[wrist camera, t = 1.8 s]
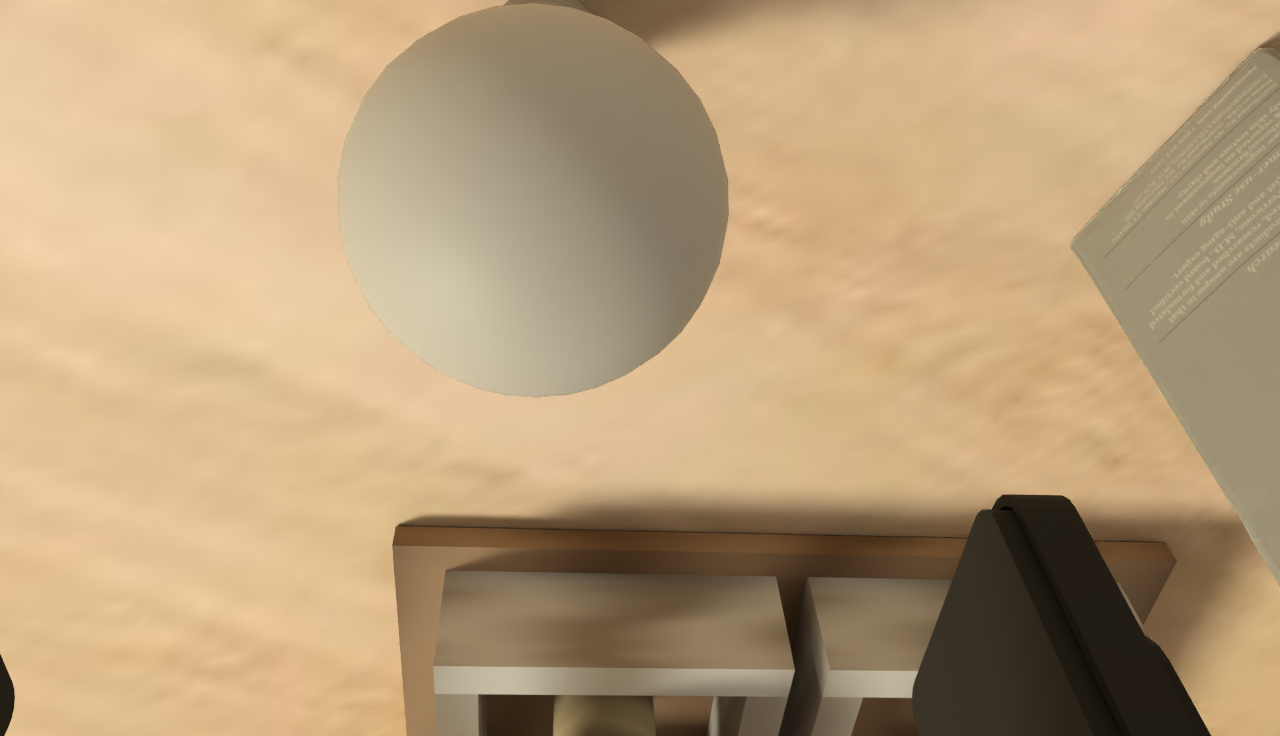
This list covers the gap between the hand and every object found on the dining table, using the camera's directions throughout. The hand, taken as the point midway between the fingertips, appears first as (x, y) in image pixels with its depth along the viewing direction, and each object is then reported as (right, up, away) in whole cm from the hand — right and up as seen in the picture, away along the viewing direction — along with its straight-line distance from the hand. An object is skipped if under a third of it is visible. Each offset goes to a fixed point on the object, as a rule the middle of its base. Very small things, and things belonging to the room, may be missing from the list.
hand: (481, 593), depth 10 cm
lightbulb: (-1, +9, +14) cm, 17 cm away
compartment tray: (+6, -9, +27) cm, 29 cm away
